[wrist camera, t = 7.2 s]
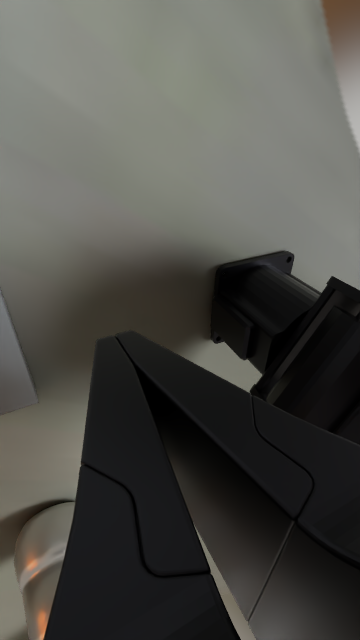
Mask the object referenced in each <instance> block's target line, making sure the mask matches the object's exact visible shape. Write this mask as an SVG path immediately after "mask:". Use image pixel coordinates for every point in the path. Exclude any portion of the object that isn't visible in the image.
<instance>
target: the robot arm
mask: <svg viewBox="0 0 360 640" xmlns="http://www.w3.org/2000/svg"><path fill="white" fill-rule="evenodd" d="M293 261H294V254H292V253H291V252H289V251H286V252H281V253H277V254H272V255H268V256H263V257H259V258H254V259H249V260H245V261H240V262H236V263H231V264H227V265H223V266H220V267H219V268H218V270H217V272H216V280H215V292H214V298H213V305H212V317H211V340H212V341H213V342H214V343H216V344H218V343H221V342H225V343H226V344H227V345H228V346H229V347H230V348H231V349H232V350H233V351H234V352H235V353H236V354H237V355H238V356H239V357H240V358H241V359H242V360H247V359H248V360H249V361H250V362H251V363H252V364H253V365H254V366H255V367H256V369H257V370H258V371H259V372H260V373H261V374H262V377H261V378H260V379H259V381H258V382H257V384H254V385H253V387H252V388H251V390H250V393H251V394H250V393H249V392H247V391H245V390H243V389H241V388H239V387H237V386H236V385H234V384H232V383H230V382H228V381H226V380H224V379H222V378H221V377H219V376H217V375H215V374H213V373H211V372H209V371H207V370H206V369H204V368H202V367H200V366H198V365H196V364H194V363H193V362H191V361H189V360H187V359H185V358H183V357H181V356H179V355H178V354H176V353H174V352H172V351H170V350H168V349H166V348H165V347H163V346H161V345H159V344H157V343H155V342H153V341H151V340H150V339H148V338H146V337H144V336H142V335H140V334H138V333H137V332H135V331H132V330H129V331H125V332H122V333H118V334H116V335H115V336H112V335H111V336H107V337H103V338H100V339H97V340H96V345H95V353H94V361H93V369H92V377H91V385H90V393H89V401H88V409H87V417H86V425H85V433H84V442H83V450H82V458H81V467H80V472H79V480H78V487H77V494H76V500H75V506H74V512H73V519H72V524H71V528H70V533H69V537H68V542H67V546H66V551H65V555H64V560H63V564H62V568H61V572H60V576H59V580H58V583H57V587H56V591H55V595H54V599H53V603H52V607H51V611H50V615H49V619H48V623H47V627H46V631H45V634H44V638H43V640H241V639H240V637H239V635H238V633H237V631H236V629H235V628H234V625H233V623H232V621H231V619H230V617H229V614H228V612H227V610H226V608H225V605H224V603H223V601H222V598H221V596H220V593H219V591H218V588H217V586H216V583H215V581H214V578H213V576H212V575H211V574H210V573H211V570H210V567H209V564H208V561H207V559H206V556H205V553H204V551H203V548H202V545H201V543H200V540H199V537H198V535H197V532H196V529H195V527H196V528H197V530H198V532H199V534H200V536H201V538H202V540H203V541H204V543H205V545H206V547H207V549H208V551H209V553H210V554H211V556H212V558H213V560H214V562H215V564H216V566H217V567H218V569H219V571H220V573H221V575H222V577H223V579H224V580H225V582H226V584H227V586H228V588H229V590H230V592H231V593H232V595H233V597H234V599H235V601H236V603H237V604H238V606H239V608H240V610H241V612H242V614H243V615H244V617H245V619H246V621H248V625H249V627H250V629H251V631H252V633H253V634H254V636H255V638H256V640H360V290H358V289H356V288H354V287H352V286H350V285H348V284H346V283H344V282H343V281H341V280H339V279H337V278H335V277H333V276H332V277H331V278H330V279H329V281H328V282H327V286H326V288H325V289H324V290H323V292H322V293H321V292H319V291H317V290H316V289H314V288H313V287H311V286H309V285H308V284H306V283H304V282H303V281H301V280H300V279H298V278H296V277H295V276H293V275H291V270H292V266H293ZM224 272H225V274H224V275H222V274H223V273H224ZM251 395H252V396H251ZM193 523H194V524H193ZM194 525H195V527H194Z"/></svg>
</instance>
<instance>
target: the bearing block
mask: <svg viewBox="0 0 360 640" xmlns="http://www.w3.org/2000/svg"><path fill="white" fill-rule="evenodd" d="M36 403H39V401H38V396H37V391H36V388H35V385H34V382H33V380H32V377H31V374H30V371H29V368H28V365H27V363H26V360H25V357H24V354H23V351H22V348H21V345H20V343H19V340H18V337H17V334H16V331H15V328H14V326H13V323H12V320H11V317H10V314H9V311H8V308H7V306H6V303H5V300H4V297H3V294H2V291H1V289H0V415H2V414H5V413H8V412H12V411H15V410H18V409H21V408H24V407H27V406H30V405H33V404H36Z"/></svg>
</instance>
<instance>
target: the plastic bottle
mask: <svg viewBox="0 0 360 640" xmlns="http://www.w3.org/2000/svg"><path fill="white" fill-rule="evenodd" d="M74 506H75V502H67V503H61V504H58V505H54V506H52V507H49V508H47V509H45V510H43V511H41V512H39V513H38V514H36V515H35V516H33V517H32V518H31V519H29V520H28V521H27V522H26V524H25V525H24V526H23V528H22V530H21V532H20V534H19V535H18V538H17V540H16V546H15V555H14V567H15V572H16V577H17V582H18V585H19V588H20V591H21V594H22V595H23V596H22V597H23V604H24V610H25V617H26V623H27V630H28V636H29V640H43V638H44V634H45V631H46V627H47V623H48V619H49V615H50V611H51V607H52V603H53V599H54V595H55V591H56V587H57V583H58V580H59V576H60V572H61V568H62V564H63V560H64V555H65V551H66V546H67V542H68V537H69V533H70V528H71V524H72V519H73V512H74Z"/></svg>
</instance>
